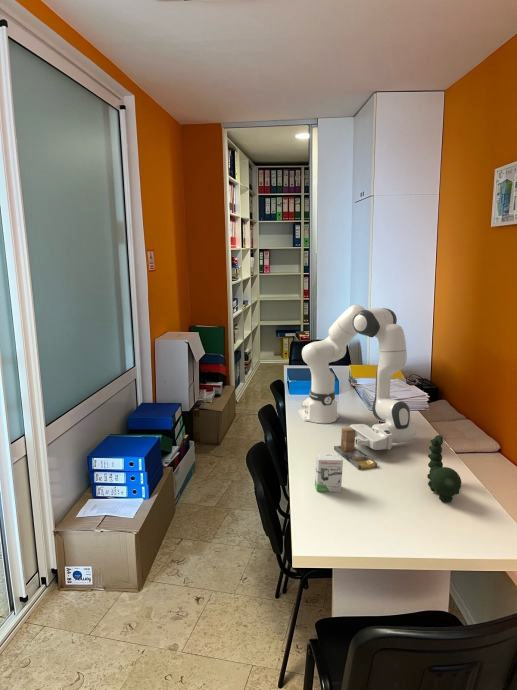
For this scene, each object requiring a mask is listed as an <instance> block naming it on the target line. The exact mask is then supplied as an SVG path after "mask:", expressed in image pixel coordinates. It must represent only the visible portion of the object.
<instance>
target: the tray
mask: <svg viewBox="0 0 517 690" xmlns="http://www.w3.org/2000/svg"><path fill="white" fill-rule="evenodd" d="M333 450H334V451H335V452H336V454H339V455H341V457H342V458H344V459H345V460H346V461H347V462H349V463H350V464H351V465H352V466H353V467H355V468H356V470H366V469H373V468H378V462H376V461H375V460H373V458H370V457H369V456H368V455H367V454H365V453H364V452H363V451H362V450H360V449H358V448H357V447H356V446H355V447H354V451H352V452H343V451H342V450H341V444H340V445H334V446H333Z"/></svg>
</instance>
